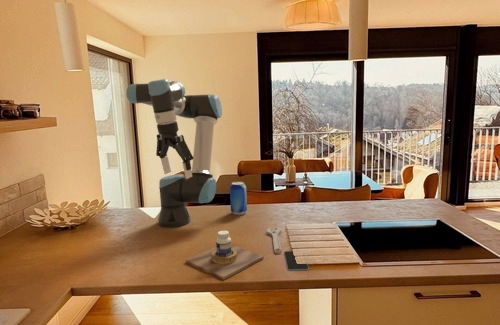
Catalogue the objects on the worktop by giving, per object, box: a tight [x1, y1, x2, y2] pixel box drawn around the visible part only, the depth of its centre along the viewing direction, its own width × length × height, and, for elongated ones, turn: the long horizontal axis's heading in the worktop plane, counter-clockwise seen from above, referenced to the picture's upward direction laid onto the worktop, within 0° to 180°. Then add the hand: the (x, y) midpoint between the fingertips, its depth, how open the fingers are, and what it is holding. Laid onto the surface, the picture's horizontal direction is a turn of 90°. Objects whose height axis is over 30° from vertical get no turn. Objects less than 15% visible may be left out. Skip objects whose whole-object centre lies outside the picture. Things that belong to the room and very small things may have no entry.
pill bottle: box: [215, 230, 232, 257], centre depth 124 cm, size 5×5×10 cm
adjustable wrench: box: [266, 226, 282, 254], centre depth 142 cm, size 25×6×2 cm, turn 175°
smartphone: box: [283, 250, 309, 272], centre depth 123 cm, size 7×1×15 cm
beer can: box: [229, 181, 248, 216], centre depth 179 cm, size 8×8×16 cm
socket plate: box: [185, 244, 264, 281], centre depth 125 cm, size 20×20×3 cm
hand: (178, 175), depth 135 cm, fingers open, 13 cm apart
